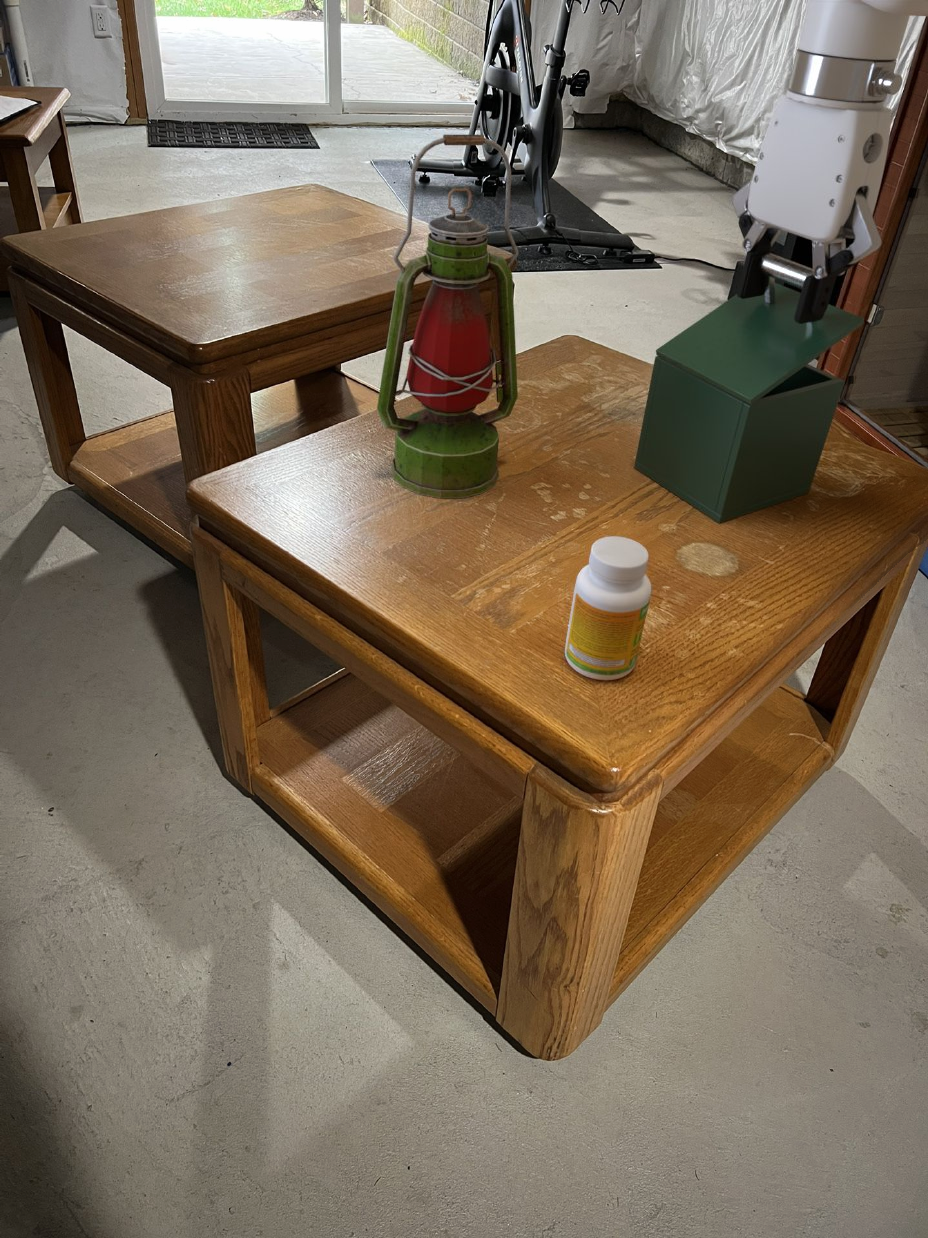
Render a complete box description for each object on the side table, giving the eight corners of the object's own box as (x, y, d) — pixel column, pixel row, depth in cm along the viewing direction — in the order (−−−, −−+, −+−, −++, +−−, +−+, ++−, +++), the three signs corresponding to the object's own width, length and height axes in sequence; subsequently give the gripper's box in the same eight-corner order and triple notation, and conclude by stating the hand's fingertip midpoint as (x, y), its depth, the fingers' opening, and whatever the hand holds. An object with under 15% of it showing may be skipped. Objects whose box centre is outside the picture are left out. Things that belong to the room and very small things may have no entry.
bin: (721, 442, 101) (748, 336, 94) (809, 492, 93) (845, 380, 86) (633, 467, 95) (655, 356, 88) (719, 523, 87) (750, 406, 80)
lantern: (492, 440, 98) (520, 121, 80) (530, 490, 90) (570, 148, 72) (363, 453, 94) (361, 120, 76) (390, 506, 86) (396, 148, 68)
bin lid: (761, 282, 90) (759, 230, 86) (863, 323, 83) (866, 269, 79) (656, 355, 88) (649, 305, 84) (751, 405, 80) (748, 353, 76)
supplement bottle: (639, 685, 68) (664, 576, 62) (565, 679, 68) (583, 570, 62) (631, 639, 72) (654, 533, 66) (562, 634, 72) (579, 527, 66)
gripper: (964, 98, 70) (883, 334, 81) (788, 63, 81) (738, 274, 92) (901, 102, 66) (826, 347, 77) (726, 65, 77) (682, 284, 88)
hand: (779, 306), depth 84 cm, fingers closed on bin lid, 6 cm apart
